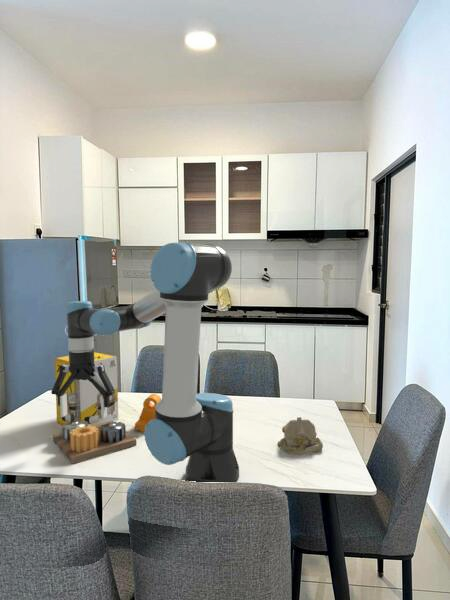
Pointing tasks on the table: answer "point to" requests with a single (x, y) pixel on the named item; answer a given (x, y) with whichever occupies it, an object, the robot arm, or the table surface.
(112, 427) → the gear
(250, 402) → the table surface
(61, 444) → the gear board
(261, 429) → the table surface
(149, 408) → the bracket
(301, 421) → the ceramic model
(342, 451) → the table surface
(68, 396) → the packaging box
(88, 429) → the orange gear
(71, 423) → the gear
